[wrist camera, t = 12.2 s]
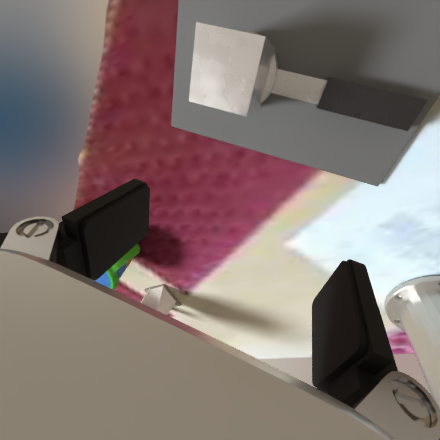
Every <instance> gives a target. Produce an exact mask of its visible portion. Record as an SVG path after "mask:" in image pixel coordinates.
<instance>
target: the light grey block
mask: <svg viewBox="0 0 440 440" xmlns="http://www.w3.org/2000/svg"><path fill="white" fill-rule="evenodd" d="M275 48H276V47H275V46H274V45H273V44H272V43H271V42H270V41H269V40H268V39H267V37H266V36H261V35H256V34H251V33H247V32H242V31H237V30H232V29H228V28H223V27H218V26H213V25H208V24H204V23H199V22H196V29H195V40H194V50H193V61H192V72H191V82H190V93H189V101H190V102H194V103H197V104H201V105H205V106H209V107H212V108H216V109H220V110H223V111H227V112H231V113H235V114H238V115H242V116H246V117H247V116H248V115H250V114H251V113H253V112H254V111H256V110H257V109H259V108H260V105H261V101H262V97H263V93H264V89H265V86H266V82H267V78H268V74H269V70H270V67H271V63H272V59H273V55H274V52H275Z"/></svg>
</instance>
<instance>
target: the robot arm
mask: <svg viewBox="0 0 440 440" xmlns="http://www.w3.org/2000/svg"><path fill="white" fill-rule="evenodd" d="M149 199H150V188H149V187H148V186H147V183H145V182H142V181H140V180H137V179H133V180H131V181H129V182H127V183H125V184H123V185H122V186H120V187H118V188H116V189H114V190H112V191H110V192H108V193H106V194H104V195H102V196H100V197H98V198H97V199H95V200H93V201H91V202H89V203H87V204H85V205H83V206H81V207H79V208H77V209H75V210H73V211H72V212H70V213H68V214H66V215H64V216H62V220H63V221H62V222H60V223H58V222H57V220H54V219H53V218H49V217H32V218H28V219H24V220H22V221H20V222H18V223H16V224H15V225H14V226H13V227H12V228H11V229H10V231H9V233H0V440H440V276H427V277H420V278H416V279H413V280H409V281H407V282H405V283H402V284H401V285H399V286H397V287H396V288H394V289H393V290H392V291H391V292H390V293H389V294H388V296H387V297H386V300H385V310H386V313H387V316H388V318H389V319H390V320H391V322H392V323H393V324H395V325H396V326H397V327H399V328H401V329H402V330H404V331H406V333H407V336H408V338H409V341H410V343H411V346H412V348H413V351H414V353H415V356H416V358H417V361H418V363H419V366H420V368H421V371H422V373H423V375H424V378H425V381H426V383H427V386H428V388H429V391H430V393H431V395H430V393H428V391H427V390H426V389H425V388H424V387H423V386H422V385H421V384H420V383H419V382H417V381H416V380H415V379H414V378H412V377H410V376H409V375H407V374H405V373H402V372H399V371H398V370H397V367H396V363H395V360H394V357H393V353H392V350H391V347H390V344H389V340H388V337H387V334H386V330H385V327H384V324H383V321H382V317H381V314H380V311H379V308H378V306H377V302H376V299H375V296H374V292H373V289H372V286H371V283H370V279H369V276H368V273H367V269H366V266H365V265H364V264H361V263H358V262H356V261H353V260H348V261H347V262H346V261H342V262H341V263H340V265H339V266H338V267H337V269H336V270H335V271H334V273H333V274H332V276H331V277H330V278H329V280H328V281H327V282H326V284H325V285H324V286H323V288H322V289H321V291H320V292H319V293H318V295H317V296H316V297H315V299H314V301H313V304H312V382H313V385H314V386H315V387H317V389H316V388H315V387H312V386H310V385H309V384H307V383H305V382H303V381H301V380H299V379H297V378H294V377H293V376H291V375H289V374H287V373H285V372H283V371H281V370H279V369H277V368H275V367H273V366H271V365H269V364H267V363H265V362H262V361H260V360H258V359H256V358H254V357H252V356H250V355H248V354H246V353H244V352H242V351H240V350H238V349H236V348H234V347H232V346H230V345H228V344H225V343H223V342H221V341H219V340H217V339H215V338H213V337H211V336H209V335H207V334H205V333H203V332H201V331H199V330H196V329H194V328H192V327H190V326H188V325H186V324H184V323H182V322H180V321H178V320H176V319H174V318H172V317H169V316H167V315H165V314H163V313H161V312H159V311H157V310H155V309H153V308H151V307H149V306H146V305H144V304H142V303H140V302H138V301H136V300H134V299H132V298H130V297H127V296H125V295H123V294H121V293H119V292H117V291H115V290H113V289H111V288H108V287H106V286H104V285H102V284H100V283H98V282H96V281H94V280H97V279H98V278H100V277H101V276H102V275H103V274H104V273H105V272H106V271H107V270H109V269H110V268H111V267H112V266H113V265H114V264H115V263H116V262H117V261H119V260H120V259H121V258H122V257H123V256H124V255H125V254H126V253H127V252H129V251H130V250H131V249H132V248H133V247H134V246H135V245H136V244H137V243H139V242H140V241H141V240H142V239H143V238H144V237H145V236H146V235H147V233H148V229H149Z"/></svg>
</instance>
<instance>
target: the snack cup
mask: <svg viewBox="0 0 440 440" xmlns="http://www.w3.org/2000/svg"><path fill="white" fill-rule="evenodd" d="M139 252H140V246H139V245H138V244H136V245H135V246H134V247H133V248H132V249H131V250H130V251H129V252H127V253H126V254H125V255H124V256H123V257H122V258H121V259H120V260H119V261H117V262H116V263H115V264H114V265H113V266H112V267H111V268H110V269H109V270H107V271H106V272H105V273H104V274H103V275H102V276H101V277H100V278H98V279H97V280H94V281H96V282H98V283H100V284H102V285H104V286H106V287H108V288H111V289H115V288H116V287H117V285H118V281H119V278H120V277H121V276H122V274H123V272H124V271H125V270H126V268H127V267H128V265H129V264H130V262H131V261H132V259H133V258H134V256H136V255H137V254H139Z"/></svg>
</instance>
